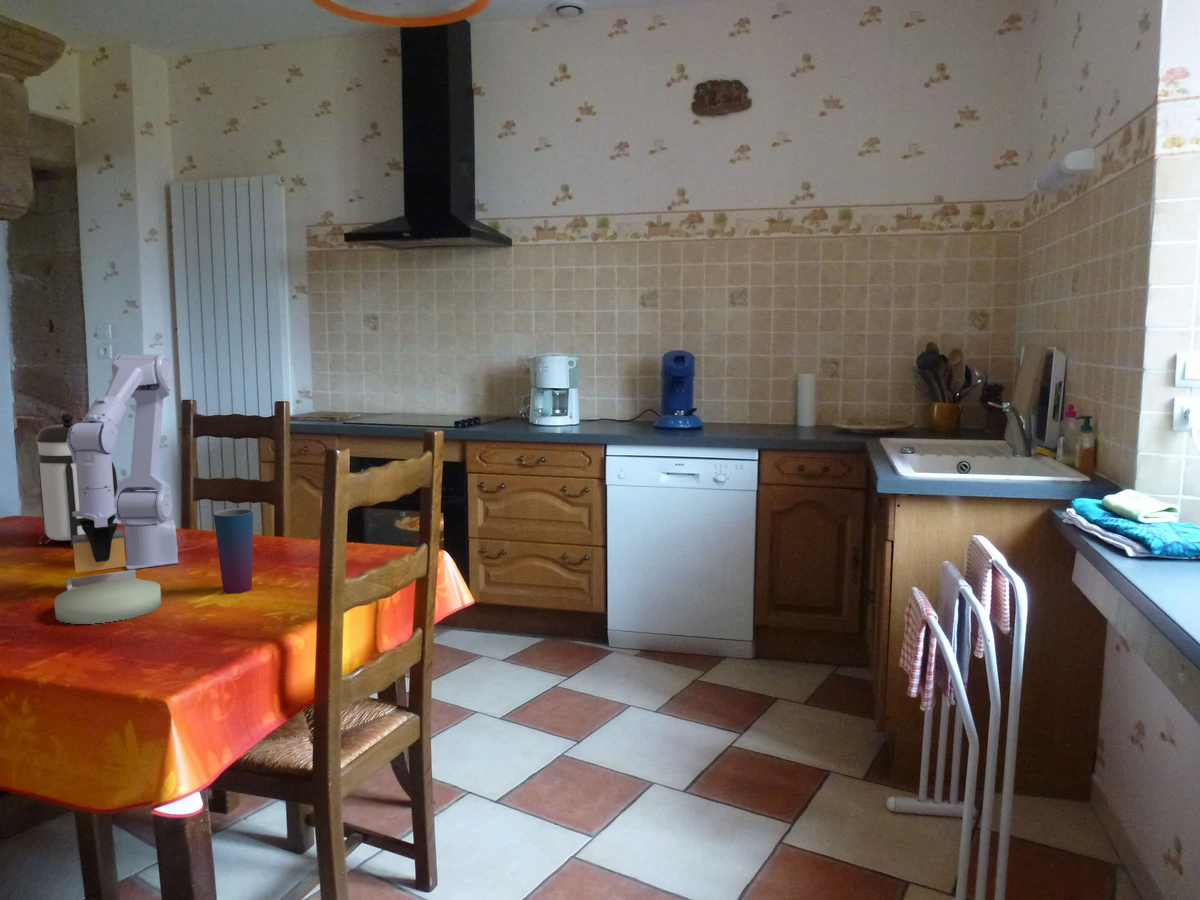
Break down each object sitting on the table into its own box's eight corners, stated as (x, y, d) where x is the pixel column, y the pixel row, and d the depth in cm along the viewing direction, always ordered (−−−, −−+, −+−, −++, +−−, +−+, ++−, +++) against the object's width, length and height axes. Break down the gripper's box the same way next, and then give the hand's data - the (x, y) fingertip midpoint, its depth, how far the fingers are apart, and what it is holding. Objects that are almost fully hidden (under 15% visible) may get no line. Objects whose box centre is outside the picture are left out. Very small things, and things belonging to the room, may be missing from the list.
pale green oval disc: (148, 577, 166) (147, 563, 166) (167, 613, 145) (166, 596, 144) (52, 591, 157) (51, 575, 157) (57, 631, 136) (55, 613, 135)
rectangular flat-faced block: (123, 561, 162) (121, 530, 161) (125, 566, 158) (123, 534, 157) (75, 567, 157) (72, 535, 156) (75, 572, 153) (73, 540, 153)
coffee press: (31, 553, 185) (19, 417, 181) (46, 537, 199) (35, 411, 195) (121, 545, 191) (111, 415, 187) (129, 530, 206) (120, 409, 202)
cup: (219, 597, 154) (214, 517, 152) (217, 587, 160) (212, 510, 158) (258, 592, 157) (254, 513, 155) (255, 582, 163) (251, 507, 161)
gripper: (68, 483, 159) (74, 552, 161) (72, 494, 147) (78, 569, 149) (111, 479, 163) (116, 547, 165) (118, 491, 151) (123, 564, 153)
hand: (101, 558), depth 157 cm, fingers closed on rectangular flat-faced block, 4 cm apart
